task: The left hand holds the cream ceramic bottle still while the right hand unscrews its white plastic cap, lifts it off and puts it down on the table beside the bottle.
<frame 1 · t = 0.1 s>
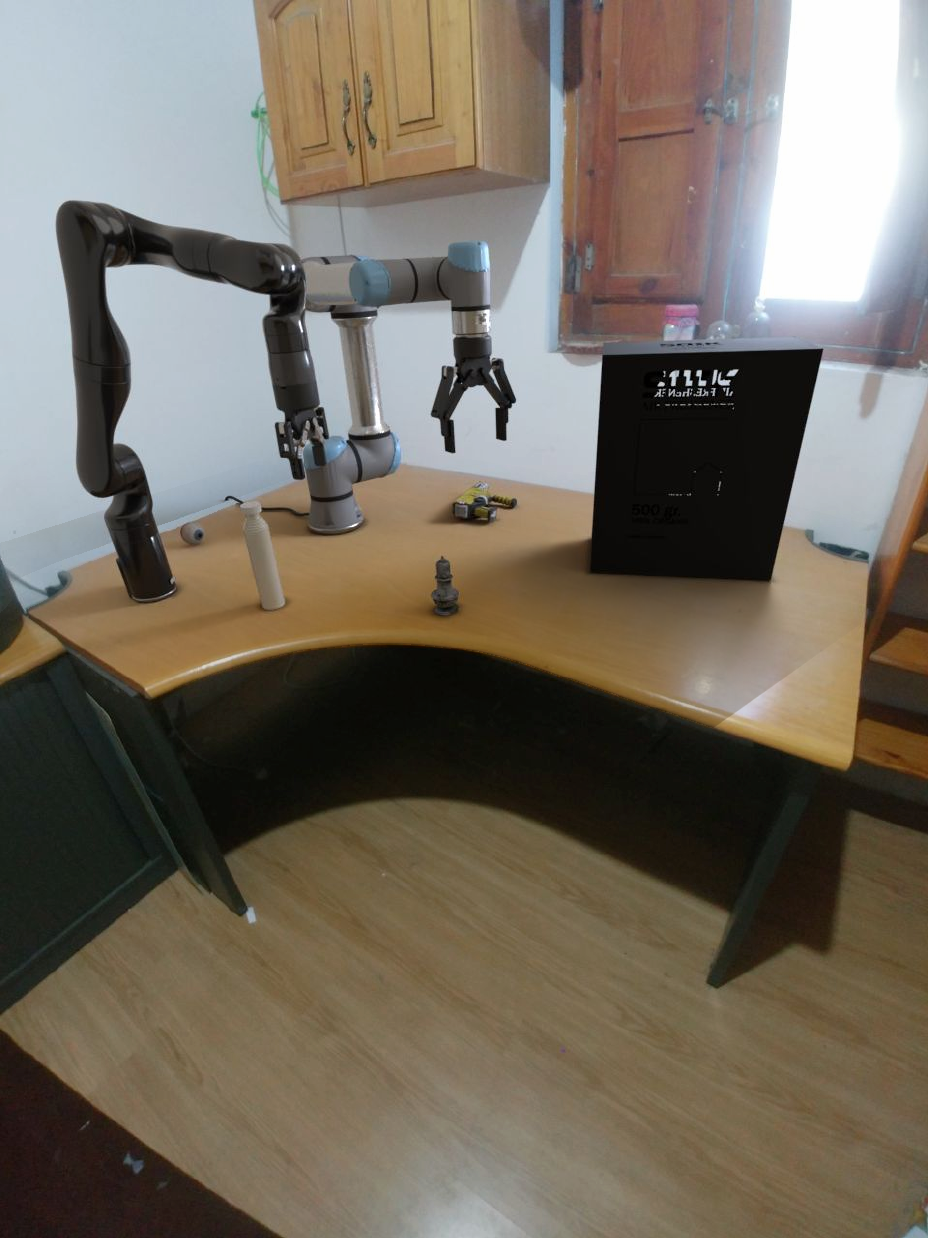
left hand: (310, 472, 112), 29 cm above the table, tool pointing down, fingers open, 8 cm apart
right hand: (476, 445, 127), 28 cm above the table, tool pointing down, fingers open, 13 cm apart
cap: (250, 506, 119), point 22 cm above the table, screwed on, not yet turned
toy gun: (489, 508, 175), on the table
bottle: (273, 604, 130), on the table
cardboard box: (673, 557, 140), on the table
grey chess piece: (446, 610, 124), on the table
eyeball: (196, 544, 162), on the table
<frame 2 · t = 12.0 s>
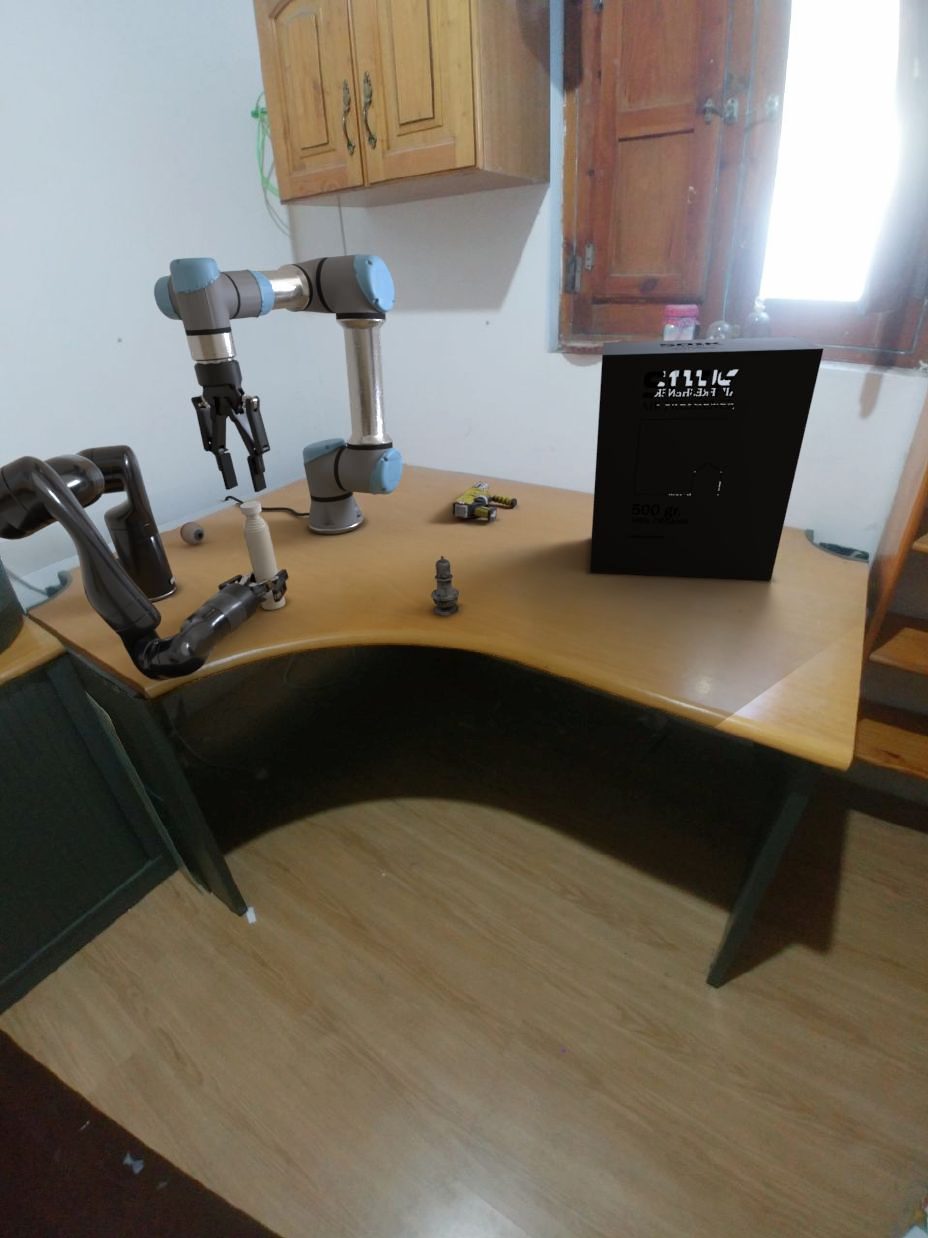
left hand: (273, 572, 129), 6 cm above the table, tool horizontal, fingers closed on bottle, 5 cm apart
right hand: (246, 488, 117), 26 cm above the table, tool pointing down, fingers open, 6 cm apart
bottle: (273, 604, 130), on the table, touching left hand
everything else where it was.
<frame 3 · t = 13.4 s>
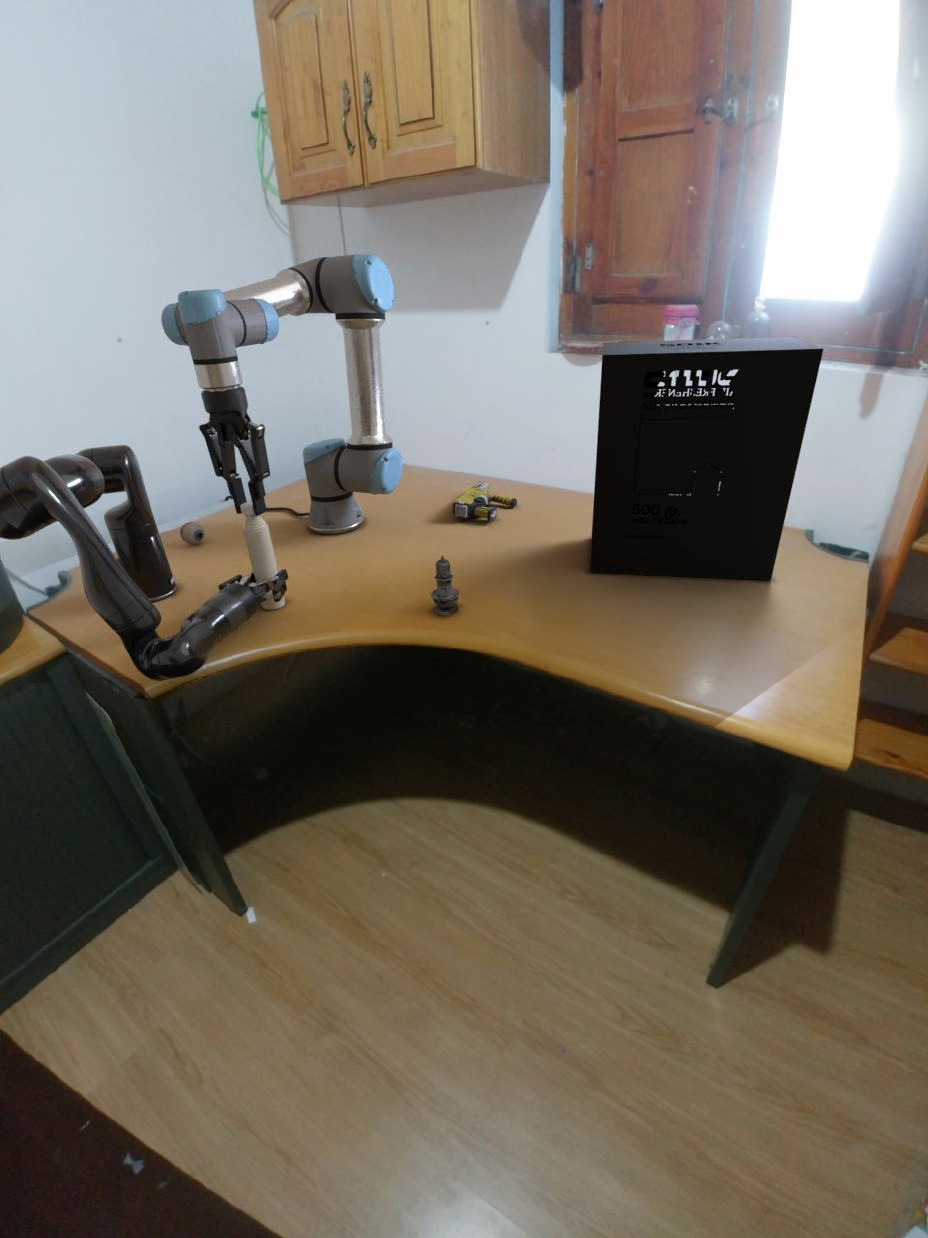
left hand: (273, 572, 129), 6 cm above the table, tool horizontal, fingers closed on bottle, 5 cm apart
right hand: (251, 512, 119), 21 cm above the table, tool pointing down, fingers closed on cap, 4 cm apart
cap: (250, 505, 119), point 22 cm above the table, screwed on, not yet turned, touching right hand
bottle: (273, 604, 130), on the table, touching left hand
everything else where it was.
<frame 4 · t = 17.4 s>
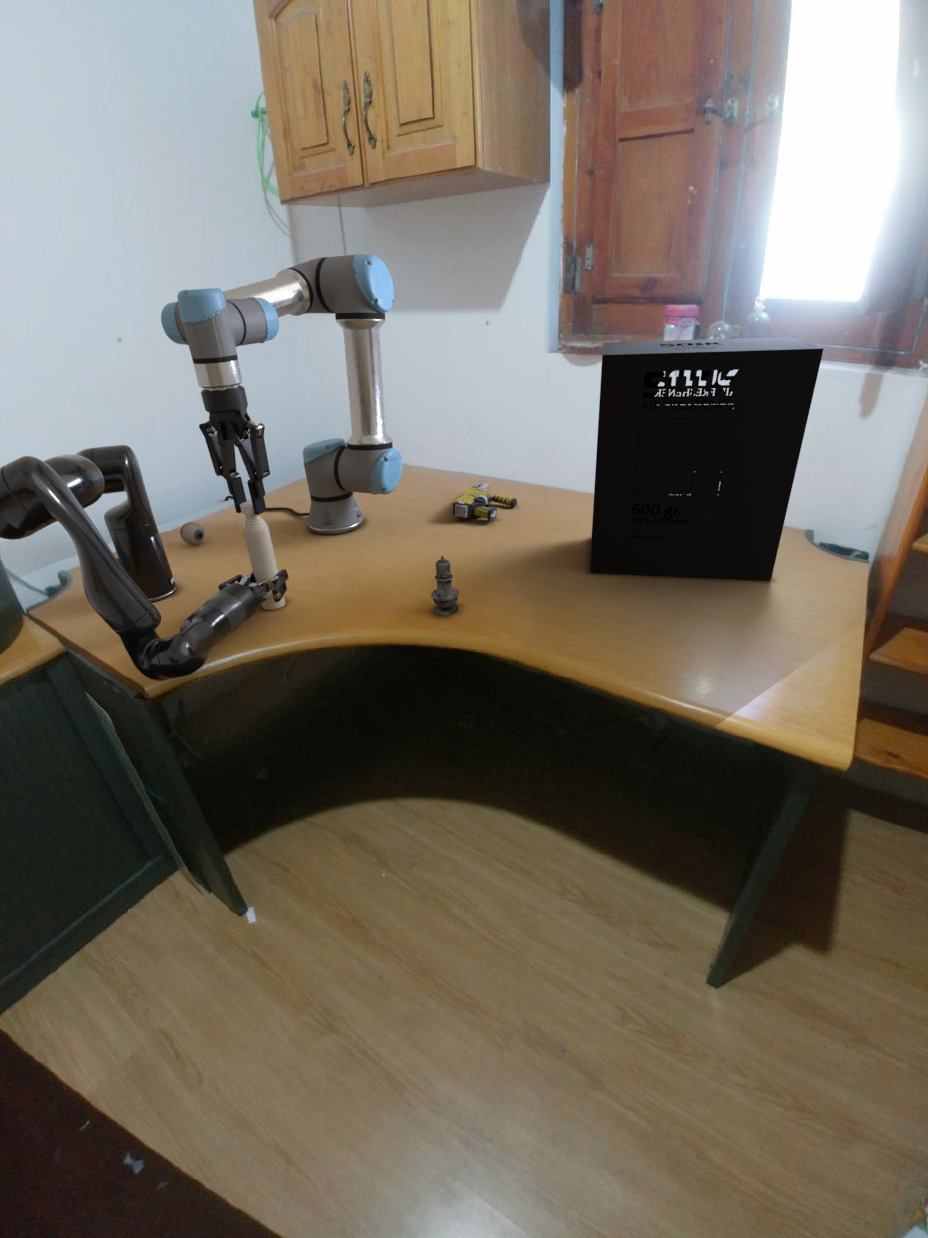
left hand: (273, 572, 129), 6 cm above the table, tool horizontal, fingers closed on bottle, 5 cm apart
right hand: (251, 511, 119), 21 cm above the table, tool pointing down, fingers closed on cap, 4 cm apart
cap: (250, 505, 119), point 22 cm above the table, turned 145° so far, risen 0.2 cm, still on its thread, touching right hand
bottle: (273, 604, 130), on the table, touching left hand
everything else where it was.
when the right hand's fingers open (2 cm above the table, at t = 27.7 s): cap drops 2 cm, point 1 cm above the table.
when the left hand's fingers open (6 cm above the table, at t = 29.1 s): bottle stays where it is, on the table.
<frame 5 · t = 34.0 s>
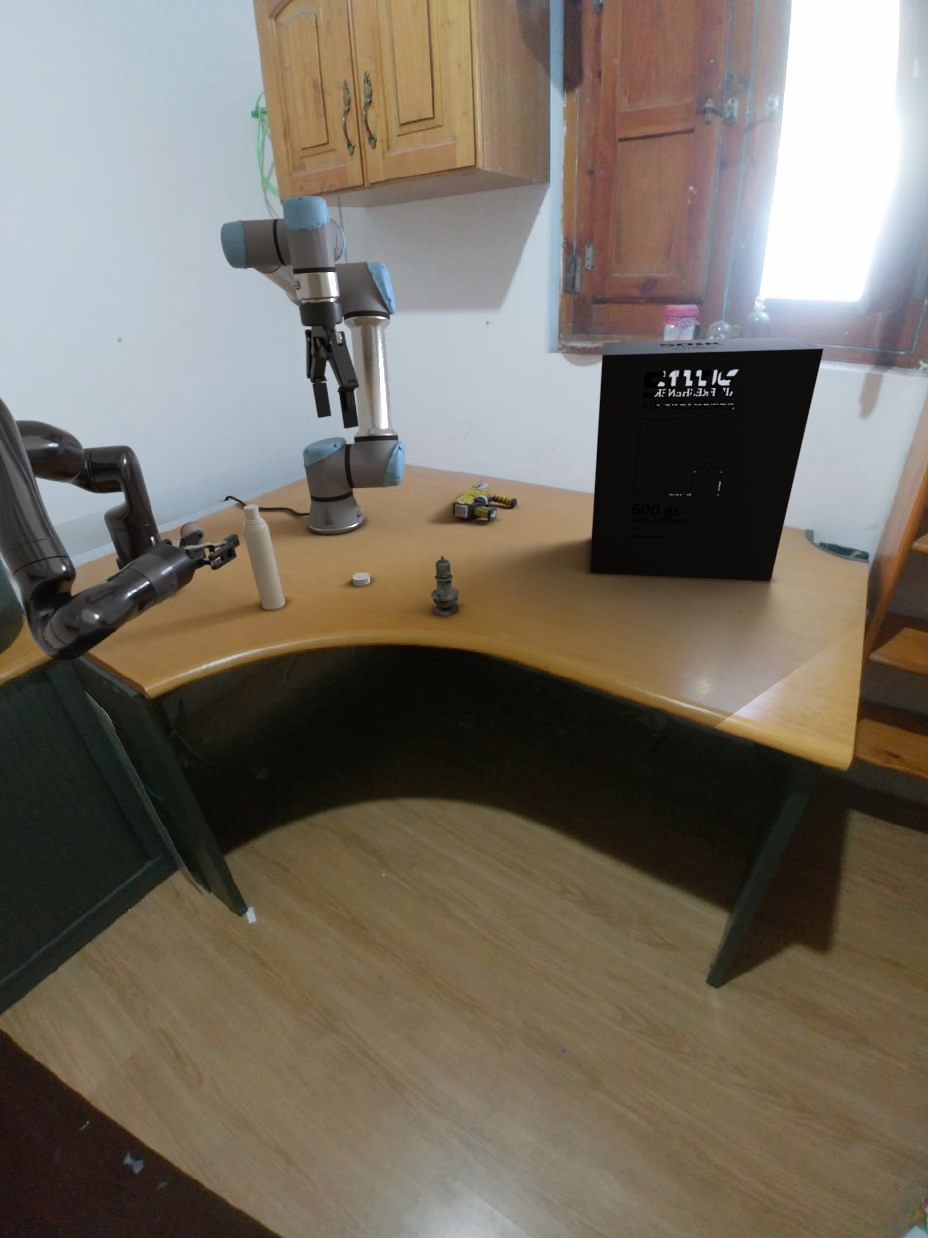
left hand: (216, 537, 110), 20 cm above the table, tool horizontal, fingers open, 8 cm apart
right hand: (337, 421, 119), 36 cm above the table, tool pointing down, fingers open, 13 cm apart
cap: (361, 577, 137), point 1 cm above the table, off its thread
bottle: (273, 604, 130), on the table
everything else where it was.
at the end: cap came off its thread; cap point 1.2 cm above the table; the left hand is holding nothing; the right hand is holding nothing; bottle tilted 0°; bottle moved 0.0 cm from its start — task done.
